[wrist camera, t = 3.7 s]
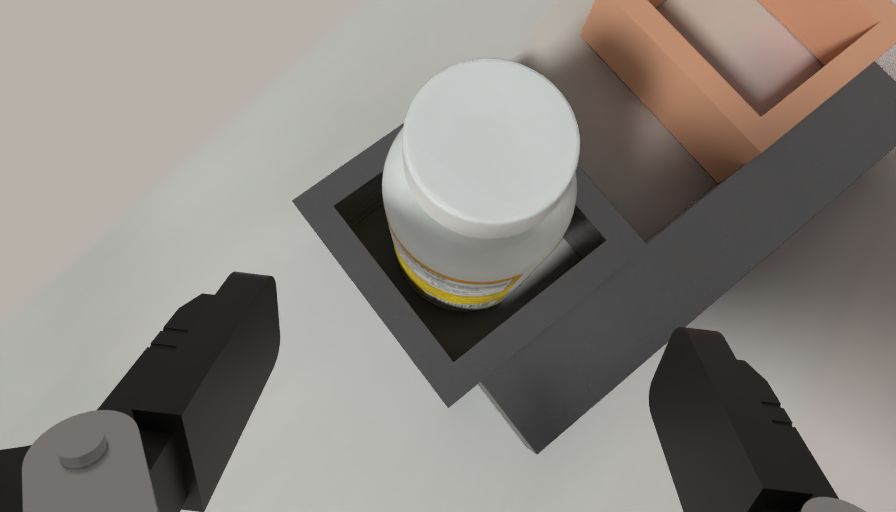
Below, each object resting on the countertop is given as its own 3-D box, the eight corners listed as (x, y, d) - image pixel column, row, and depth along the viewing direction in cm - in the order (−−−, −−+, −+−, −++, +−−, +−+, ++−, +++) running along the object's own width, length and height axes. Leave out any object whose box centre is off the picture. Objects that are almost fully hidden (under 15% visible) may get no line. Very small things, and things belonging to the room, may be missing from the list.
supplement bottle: (446, 340, 20) (459, 307, 11) (369, 227, 21) (320, 107, 12) (559, 262, 21) (660, 168, 12) (480, 156, 22) (516, -9, 13)
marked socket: (719, -64, 25) (757, -123, 22) (856, 69, 23) (917, 25, 20) (580, 35, 23) (601, -14, 20) (717, 183, 22) (761, 153, 19)
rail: (698, -49, 25) (734, -107, 22) (887, 138, 23) (955, 102, 20) (311, 225, 21) (291, 200, 18) (497, 471, 19) (509, 488, 16)
